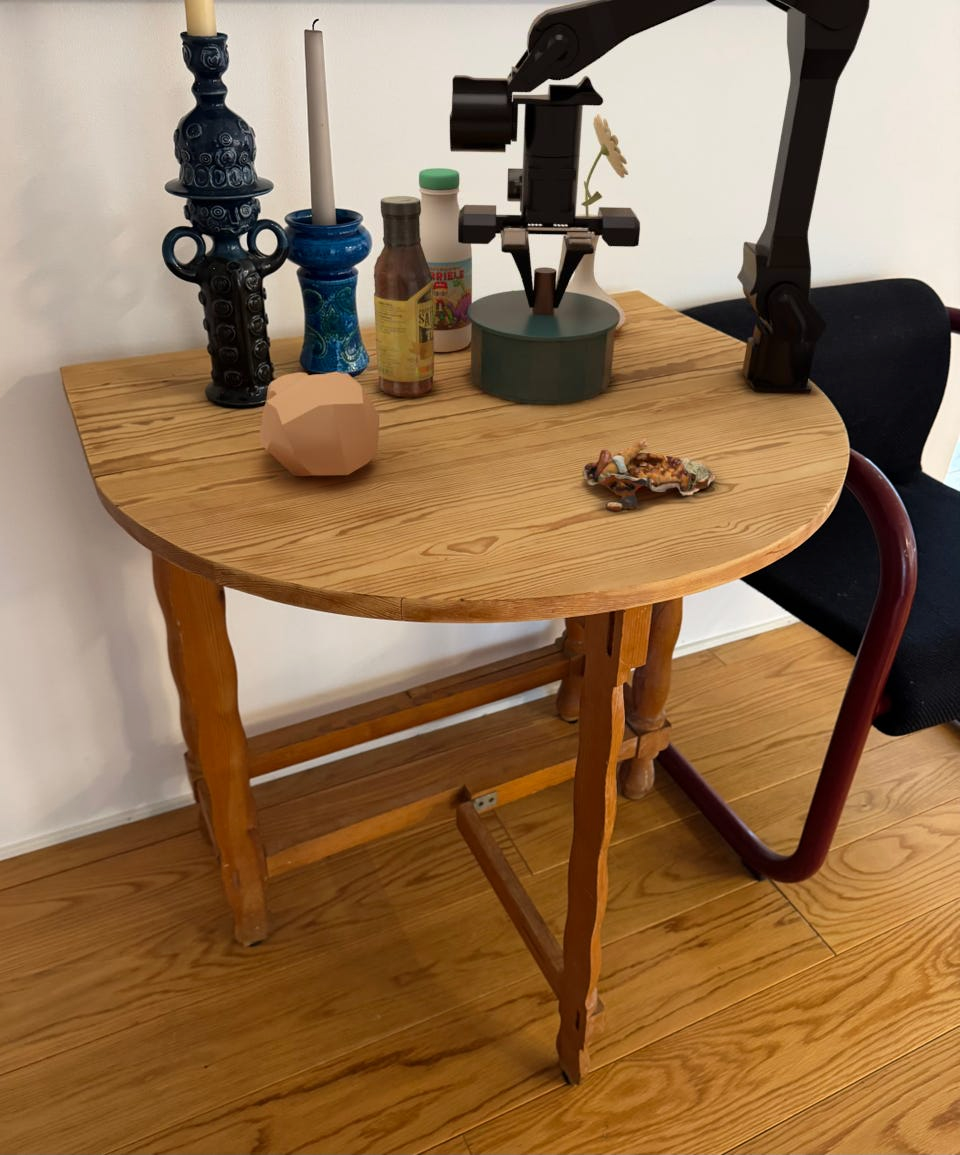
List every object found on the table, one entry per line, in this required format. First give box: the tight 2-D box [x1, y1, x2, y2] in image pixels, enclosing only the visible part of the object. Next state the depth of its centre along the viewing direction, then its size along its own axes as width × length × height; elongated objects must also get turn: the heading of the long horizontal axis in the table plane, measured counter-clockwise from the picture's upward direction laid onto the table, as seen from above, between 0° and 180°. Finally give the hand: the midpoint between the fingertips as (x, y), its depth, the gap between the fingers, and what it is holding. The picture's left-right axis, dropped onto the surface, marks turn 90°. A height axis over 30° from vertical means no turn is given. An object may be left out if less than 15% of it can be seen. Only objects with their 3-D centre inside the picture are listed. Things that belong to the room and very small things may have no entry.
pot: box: [470, 323, 616, 405], centre depth 107 cm, size 16×16×7 cm
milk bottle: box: [418, 167, 473, 353], centre depth 112 cm, size 8×8×20 cm
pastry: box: [581, 438, 716, 512], centre depth 86 cm, size 7×12×4 cm, turn 114°
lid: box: [467, 266, 620, 342], centre depth 104 cm, size 17×17×6 cm
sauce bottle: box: [373, 195, 435, 397], centre depth 100 cm, size 6×6×20 cm
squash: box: [257, 371, 380, 477], centre depth 90 cm, size 11×20×9 cm, turn 24°
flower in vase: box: [565, 113, 629, 332], centre depth 117 cm, size 13×11×25 cm
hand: (543, 306), depth 104 cm, fingers closed on lid, 2 cm apart
